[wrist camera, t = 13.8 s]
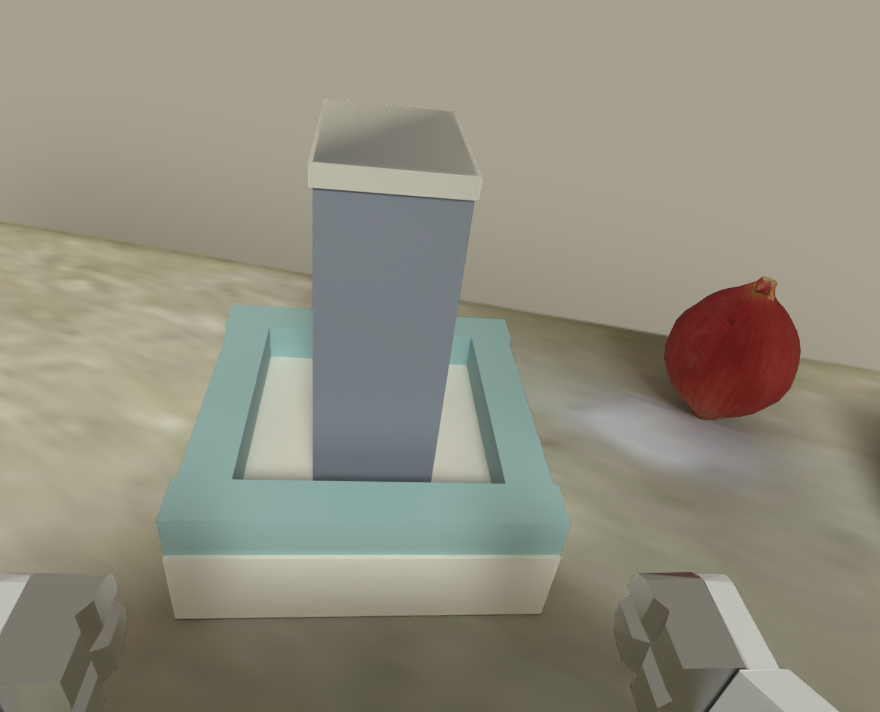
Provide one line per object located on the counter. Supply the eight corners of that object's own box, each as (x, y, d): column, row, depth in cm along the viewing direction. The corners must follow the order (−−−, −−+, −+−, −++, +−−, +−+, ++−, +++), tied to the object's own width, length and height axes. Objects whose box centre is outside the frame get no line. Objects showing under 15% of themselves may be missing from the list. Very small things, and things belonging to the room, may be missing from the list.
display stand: (488, 394, 31) (504, 317, 29) (540, 613, 21) (572, 527, 19) (240, 385, 29) (233, 303, 27) (175, 618, 20) (154, 525, 17)
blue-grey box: (421, 379, 27) (455, 111, 20) (433, 488, 22) (482, 177, 15) (321, 375, 26) (324, 98, 20) (309, 487, 21) (307, 162, 15)
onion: (625, 382, 33) (674, 246, 29) (716, 377, 35) (777, 246, 30) (683, 459, 29) (752, 311, 24) (785, 449, 30) (869, 308, 26)
